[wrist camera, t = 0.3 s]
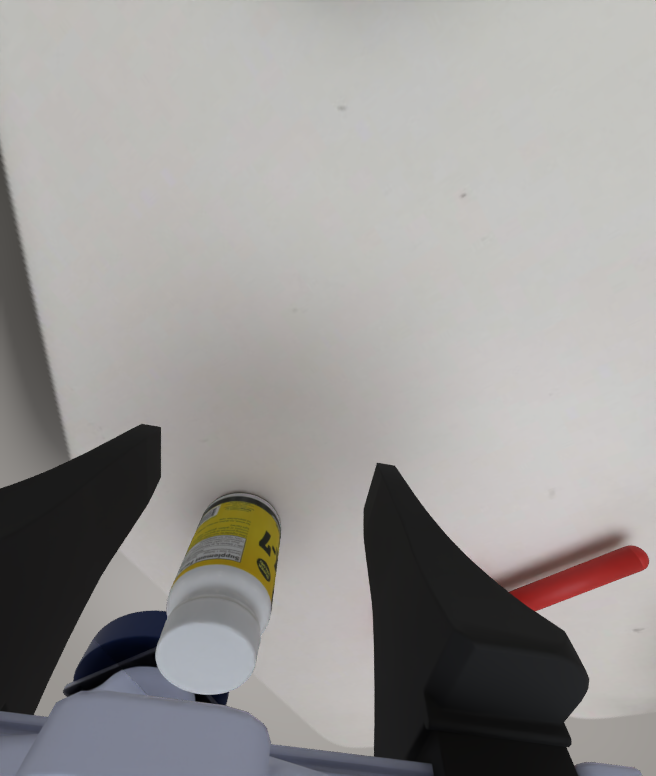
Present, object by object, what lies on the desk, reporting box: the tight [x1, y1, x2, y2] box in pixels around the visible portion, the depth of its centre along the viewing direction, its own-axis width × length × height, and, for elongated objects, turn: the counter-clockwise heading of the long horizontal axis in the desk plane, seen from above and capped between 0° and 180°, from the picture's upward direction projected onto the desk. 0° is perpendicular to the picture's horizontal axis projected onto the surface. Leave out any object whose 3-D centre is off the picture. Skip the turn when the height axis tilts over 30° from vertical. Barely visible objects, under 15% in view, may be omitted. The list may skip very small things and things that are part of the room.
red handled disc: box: [509, 545, 649, 611], centre depth 24 cm, size 16×7×3 cm, turn 117°
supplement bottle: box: [156, 493, 281, 695], centre depth 20 cm, size 5×5×8 cm
